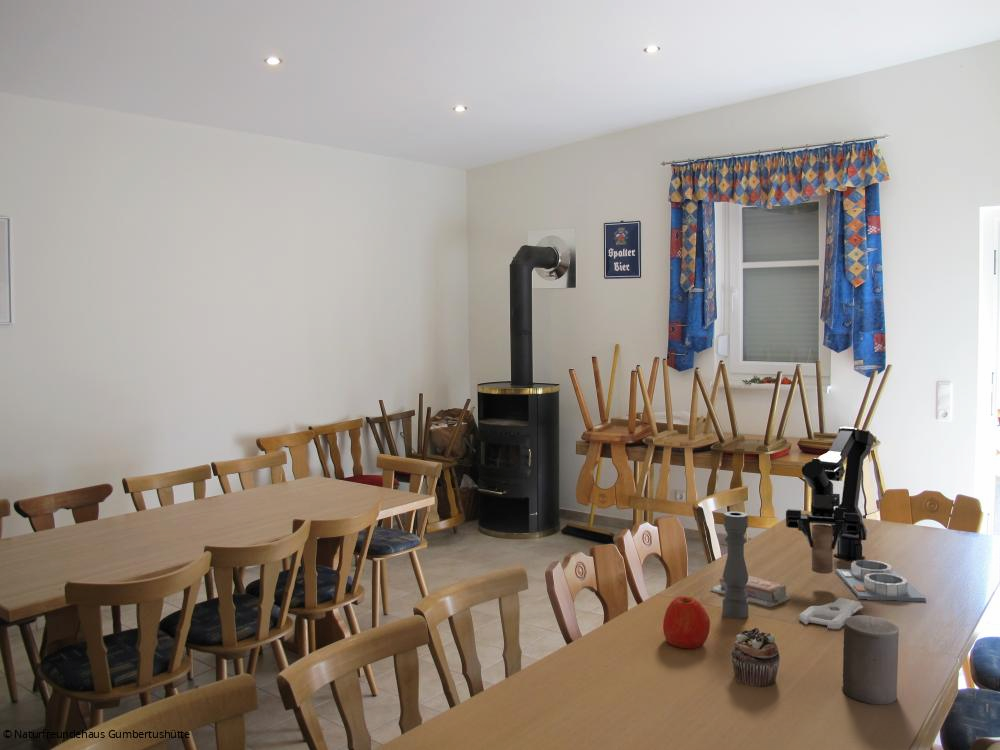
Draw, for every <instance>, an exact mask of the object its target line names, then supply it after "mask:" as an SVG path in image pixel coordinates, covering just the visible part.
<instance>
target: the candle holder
mask: <svg viewBox="0 0 1000 750" xmlns="http://www.w3.org/2000/svg"><path fill="white" fill-rule="evenodd" d="M748 519H749V515H748V513H746V512H743V511H726V512H724V513H723V528H724V530H725V532H726V536H725V537H724V541H725V543H726V544H727V557H726V560H725V565H724V569H723V573H722V576H723V580H724V582H725V584H726V587H727V590H726V592H724V594H723V599H722V615H723V616H725V617H727V618H730V619H736V620H740V619H742V620H743V619H746V618H748V617H749V601H747V600H746V599H747V594H746V592H745V591H744V589H745V587H744V586H745V585H746V584H747V582H748V576H749V572H748V568H747V564H746V561H745V557H744V556H745V554H744V553H745V549H744V548H745V544H746V543H747V538H746V537H745V535H746V534H745V533H746V532H747V529H748V528H749V526H748V525H749V523H748V522H749V520H748Z"/></svg>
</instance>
